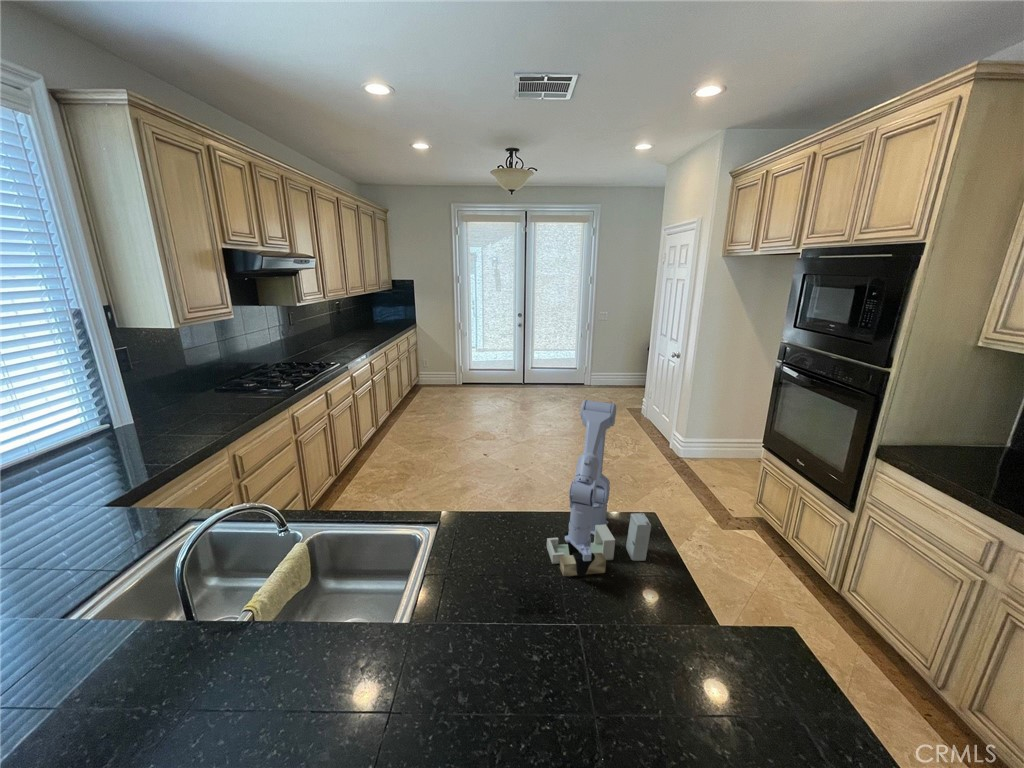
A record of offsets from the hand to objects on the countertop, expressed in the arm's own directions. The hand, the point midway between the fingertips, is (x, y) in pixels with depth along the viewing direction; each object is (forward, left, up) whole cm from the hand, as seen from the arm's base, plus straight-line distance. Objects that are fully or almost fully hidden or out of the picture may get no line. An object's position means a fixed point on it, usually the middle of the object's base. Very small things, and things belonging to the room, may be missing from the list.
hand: (577, 566), depth 111 cm
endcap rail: (-7, -3, -1) cm, 8 cm away
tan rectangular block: (-1, +1, -2) cm, 2 cm away
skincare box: (-17, +10, -2) cm, 20 cm away
